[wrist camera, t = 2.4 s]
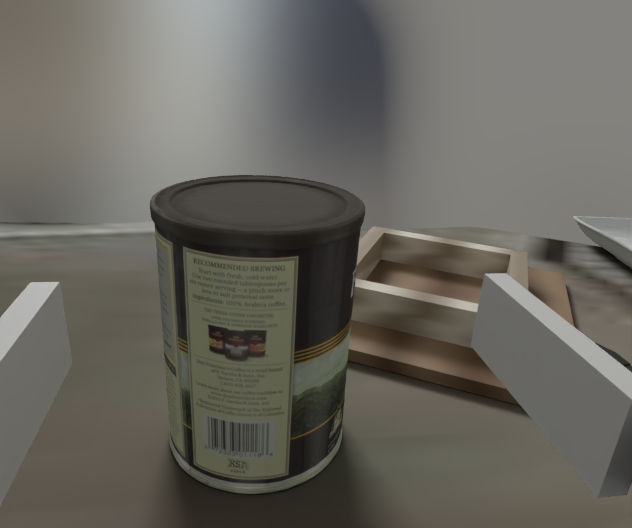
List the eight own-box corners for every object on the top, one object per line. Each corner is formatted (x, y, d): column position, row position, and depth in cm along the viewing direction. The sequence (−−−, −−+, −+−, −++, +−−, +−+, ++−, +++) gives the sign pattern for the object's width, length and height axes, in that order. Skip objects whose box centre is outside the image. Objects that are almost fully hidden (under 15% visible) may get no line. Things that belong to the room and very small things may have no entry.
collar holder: (251, 335, 39) (252, 289, 38) (344, 241, 60) (347, 210, 59) (587, 423, 32) (605, 370, 30) (560, 281, 53) (570, 246, 51)
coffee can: (308, 364, 36) (321, 171, 31) (371, 470, 27) (405, 224, 22) (159, 389, 33) (143, 175, 27) (176, 518, 24) (158, 240, 18)
